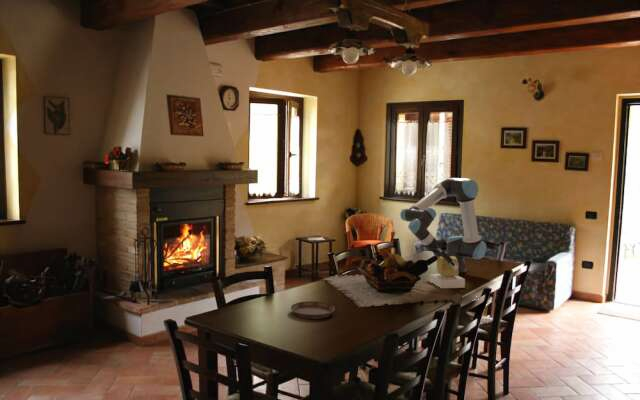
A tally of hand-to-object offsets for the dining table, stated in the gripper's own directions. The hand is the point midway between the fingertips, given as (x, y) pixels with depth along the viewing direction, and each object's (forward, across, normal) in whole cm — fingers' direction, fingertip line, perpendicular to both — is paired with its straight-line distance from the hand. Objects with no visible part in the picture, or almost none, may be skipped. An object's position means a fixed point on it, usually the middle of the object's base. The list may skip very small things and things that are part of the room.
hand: (452, 266), depth 316 cm
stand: (+6, 0, -10) cm, 11 cm away
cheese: (+1, 0, -5) cm, 5 cm away
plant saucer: (-58, +47, -74) cm, 106 cm away
